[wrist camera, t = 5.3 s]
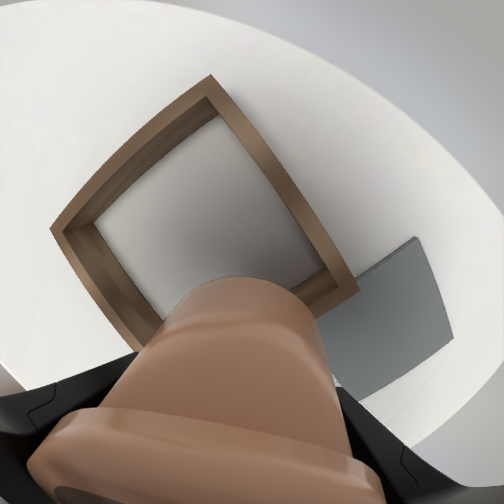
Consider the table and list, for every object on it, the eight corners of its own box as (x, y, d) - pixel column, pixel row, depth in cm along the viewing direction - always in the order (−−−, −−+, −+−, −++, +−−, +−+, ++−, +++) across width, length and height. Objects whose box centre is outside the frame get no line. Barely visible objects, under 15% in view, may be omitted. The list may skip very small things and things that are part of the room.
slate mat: (450, 335, 20) (453, 338, 19) (353, 399, 22) (354, 403, 21) (414, 236, 18) (418, 238, 17) (293, 317, 20) (294, 320, 19)
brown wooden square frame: (345, 270, 19) (361, 290, 15) (186, 362, 22) (172, 392, 18) (223, 94, 17) (211, 74, 13) (80, 220, 20) (49, 228, 16)
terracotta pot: (359, 364, 10) (423, 540, 2) (228, 427, 11) (197, 574, 3) (263, 225, 9) (205, 428, 1) (127, 323, 10) (0, 459, 2)
